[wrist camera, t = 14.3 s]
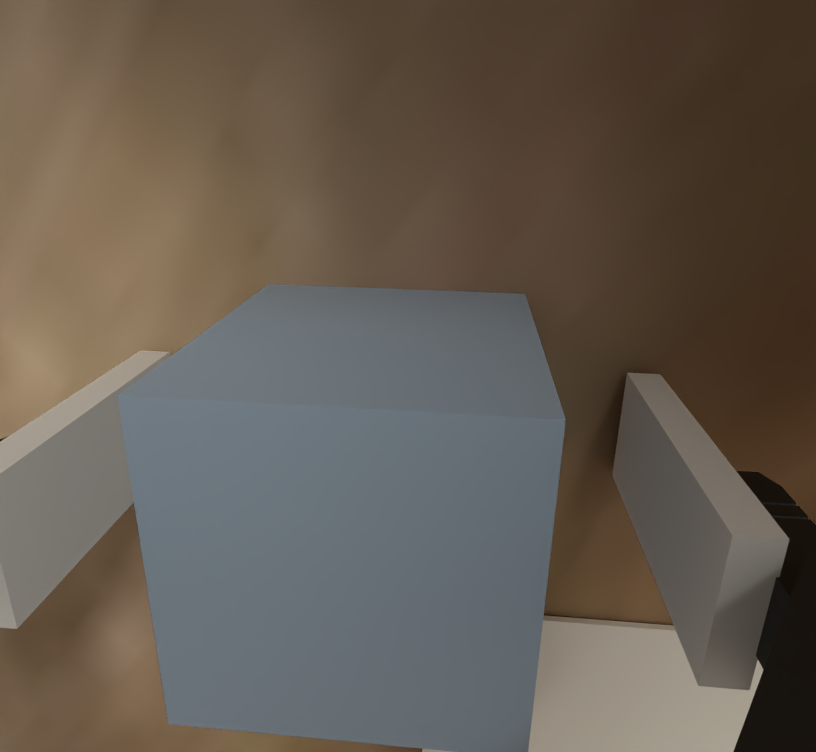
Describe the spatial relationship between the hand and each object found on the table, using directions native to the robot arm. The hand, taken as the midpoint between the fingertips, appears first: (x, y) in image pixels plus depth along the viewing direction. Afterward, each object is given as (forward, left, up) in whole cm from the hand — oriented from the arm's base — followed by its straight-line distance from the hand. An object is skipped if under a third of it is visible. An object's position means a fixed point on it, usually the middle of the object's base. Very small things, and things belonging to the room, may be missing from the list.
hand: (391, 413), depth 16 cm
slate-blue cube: (0, 0, 0) cm, 0 cm away
